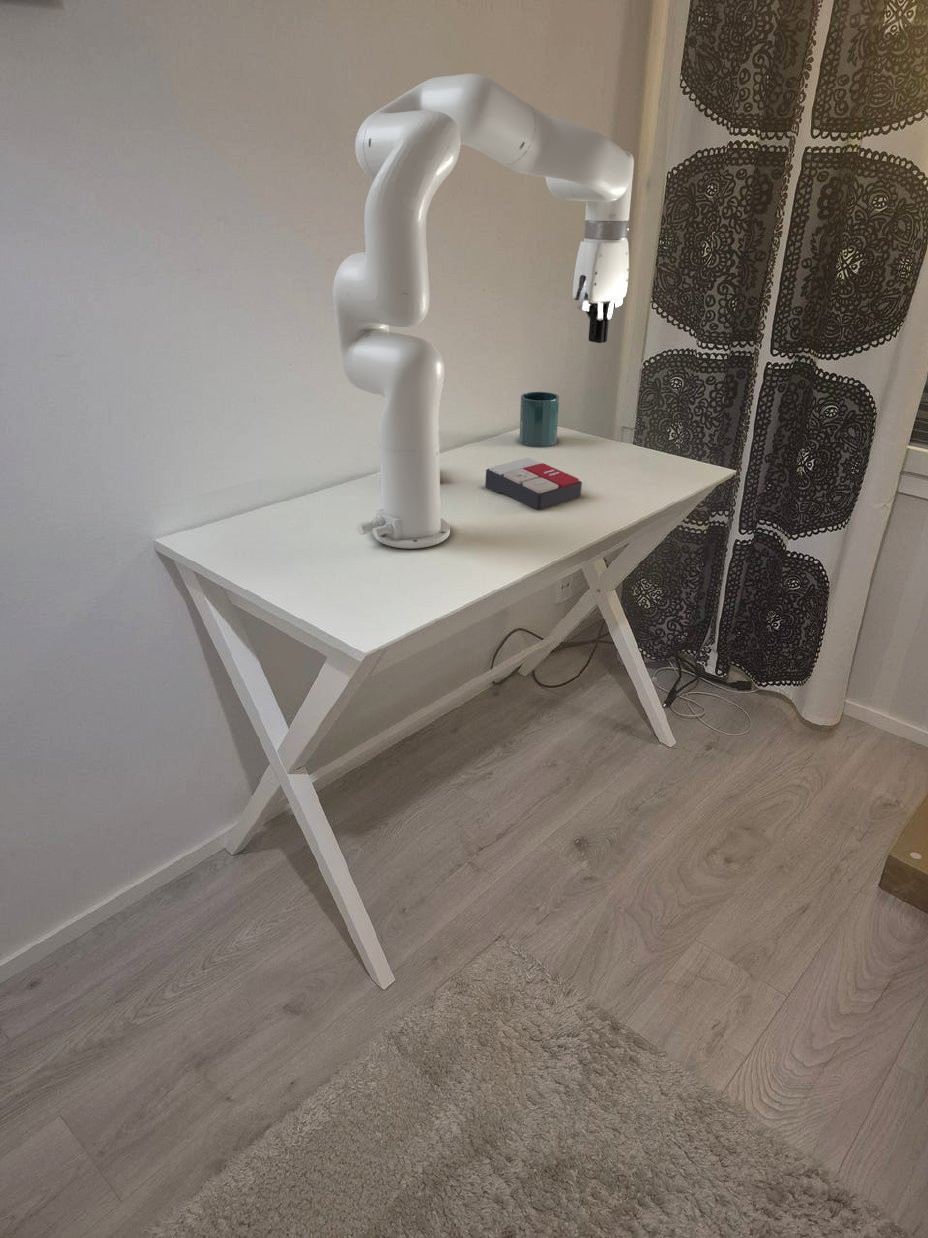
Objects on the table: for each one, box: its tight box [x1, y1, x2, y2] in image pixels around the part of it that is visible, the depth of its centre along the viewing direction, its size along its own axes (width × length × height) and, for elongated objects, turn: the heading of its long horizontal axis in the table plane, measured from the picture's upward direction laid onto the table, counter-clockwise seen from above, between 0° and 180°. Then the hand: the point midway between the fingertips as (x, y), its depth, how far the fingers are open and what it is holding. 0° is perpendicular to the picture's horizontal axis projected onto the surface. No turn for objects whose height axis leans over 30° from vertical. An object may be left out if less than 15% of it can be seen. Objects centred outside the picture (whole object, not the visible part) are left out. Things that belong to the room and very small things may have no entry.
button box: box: [484, 457, 583, 511], centre depth 150 cm, size 11×4×15 cm
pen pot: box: [519, 391, 560, 448], centre depth 177 cm, size 8×8×10 cm
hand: (597, 341), depth 149 cm, fingers closed
